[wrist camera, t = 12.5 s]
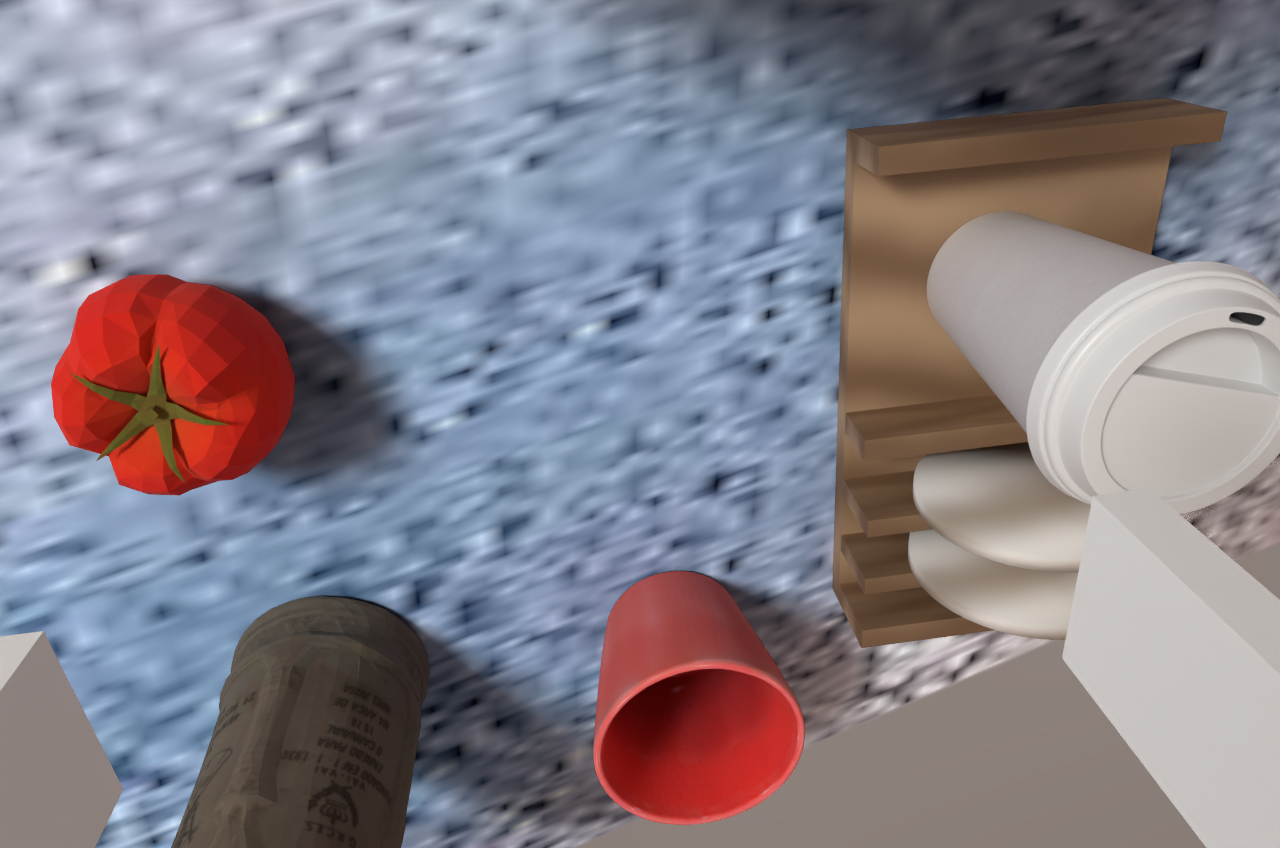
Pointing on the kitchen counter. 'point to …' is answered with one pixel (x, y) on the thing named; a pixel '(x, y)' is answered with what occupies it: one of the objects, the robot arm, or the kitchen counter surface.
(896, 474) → the dish rack
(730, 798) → the flower pot
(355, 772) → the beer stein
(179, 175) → the kitchen counter surface
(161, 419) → the tomato
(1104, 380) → the coffee cup
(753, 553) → the kitchen counter surface
